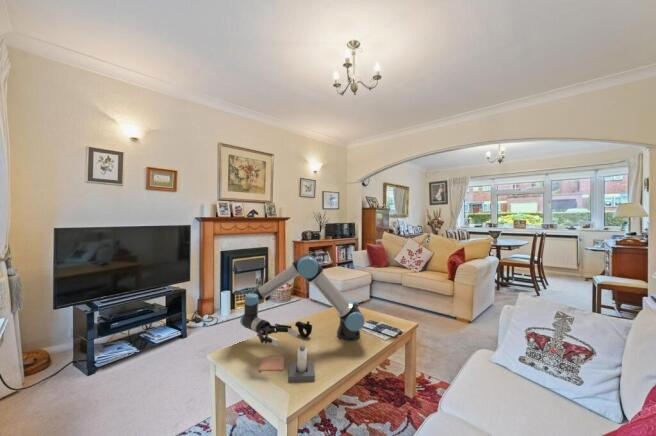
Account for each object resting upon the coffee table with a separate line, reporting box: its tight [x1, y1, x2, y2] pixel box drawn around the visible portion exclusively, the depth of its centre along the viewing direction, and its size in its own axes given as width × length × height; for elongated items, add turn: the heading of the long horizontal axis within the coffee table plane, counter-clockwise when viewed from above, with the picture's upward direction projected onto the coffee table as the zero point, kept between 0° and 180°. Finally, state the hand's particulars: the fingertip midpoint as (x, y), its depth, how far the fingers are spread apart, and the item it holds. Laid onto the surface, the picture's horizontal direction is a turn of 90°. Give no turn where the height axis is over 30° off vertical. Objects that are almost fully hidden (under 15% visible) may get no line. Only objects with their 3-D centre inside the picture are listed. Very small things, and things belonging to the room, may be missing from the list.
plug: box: [296, 344, 308, 372], centre depth 135 cm, size 4×4×14 cm
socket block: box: [288, 361, 316, 383], centre depth 135 cm, size 12×12×3 cm
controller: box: [294, 320, 313, 338], centre depth 178 cm, size 4×12×10 cm, turn 58°
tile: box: [258, 356, 286, 373], centre depth 143 cm, size 12×12×1 cm
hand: (287, 338), depth 140 cm, fingers open, 13 cm apart
